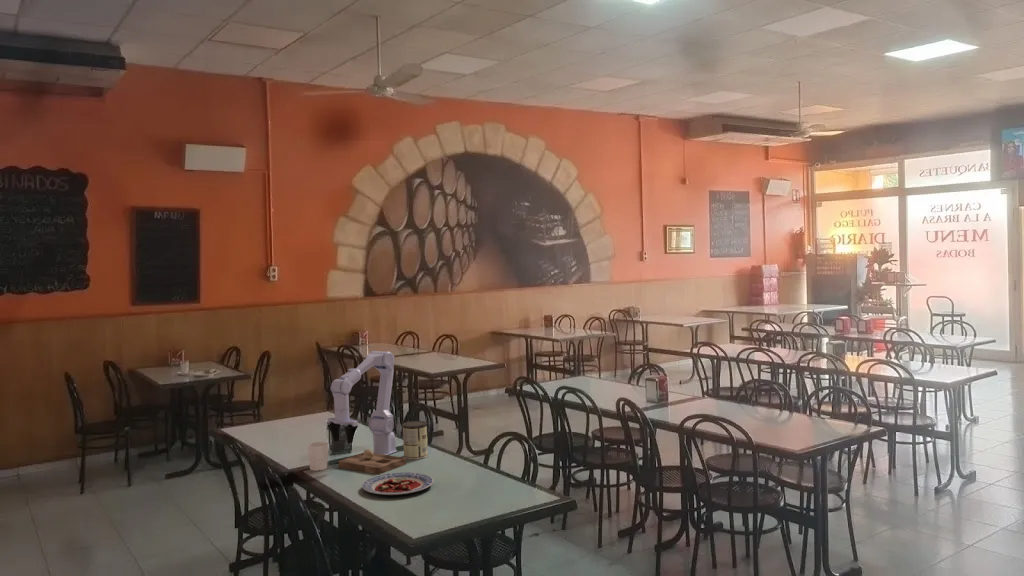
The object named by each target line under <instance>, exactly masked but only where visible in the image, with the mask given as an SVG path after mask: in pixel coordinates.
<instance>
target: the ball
mask: <svg viewBox="0 0 1024 576" xmlns="http://www.w3.org/2000/svg"><path fill="white" fill-rule="evenodd" d="M373 452H374V450H372V449H370V448H366V449H365V450H363V452H362V453H363V455H364V457H365V458H366V459H371V458H372V457H373Z"/></svg>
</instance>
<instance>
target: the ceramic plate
mask: <svg viewBox="0 0 1024 576" xmlns="http://www.w3.org/2000/svg"><path fill="white" fill-rule="evenodd" d="M434 482H435V481H434V478H433V477H432V476H430V475H428V474H425V473H420V472H411V471H410V472H409V471H408V472H405V471H404V472H392V473H386V474H385V473H383V474H379V475H376V476H374V477H370V478H369V479H366V480H365V481H364V482H363V483H362V489H363V490H364V491H366V492H368V493H371V494H375V495H384V496H403V494H404V495H409V494H413V493H417V492H419V491H424V490H425V489H427V488H429V487H431V486H432V485H433V483H434Z"/></svg>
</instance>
